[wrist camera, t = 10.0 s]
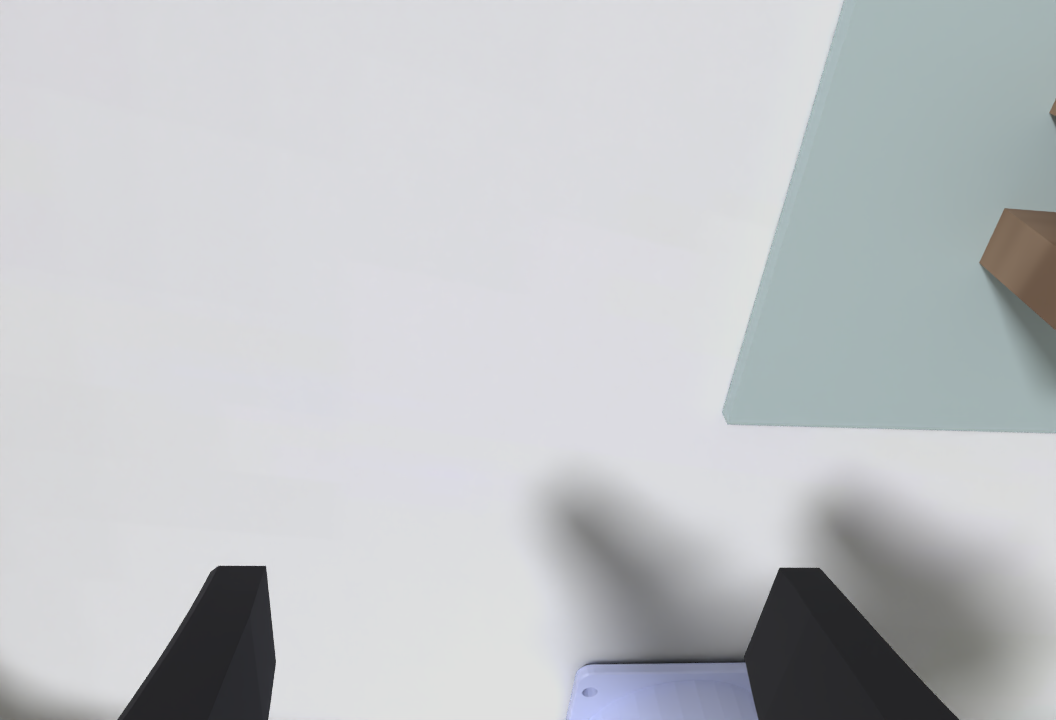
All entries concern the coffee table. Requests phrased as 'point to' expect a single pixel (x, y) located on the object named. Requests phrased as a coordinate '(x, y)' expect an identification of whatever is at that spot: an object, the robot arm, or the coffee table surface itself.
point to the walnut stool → (1026, 257)
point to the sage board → (910, 229)
